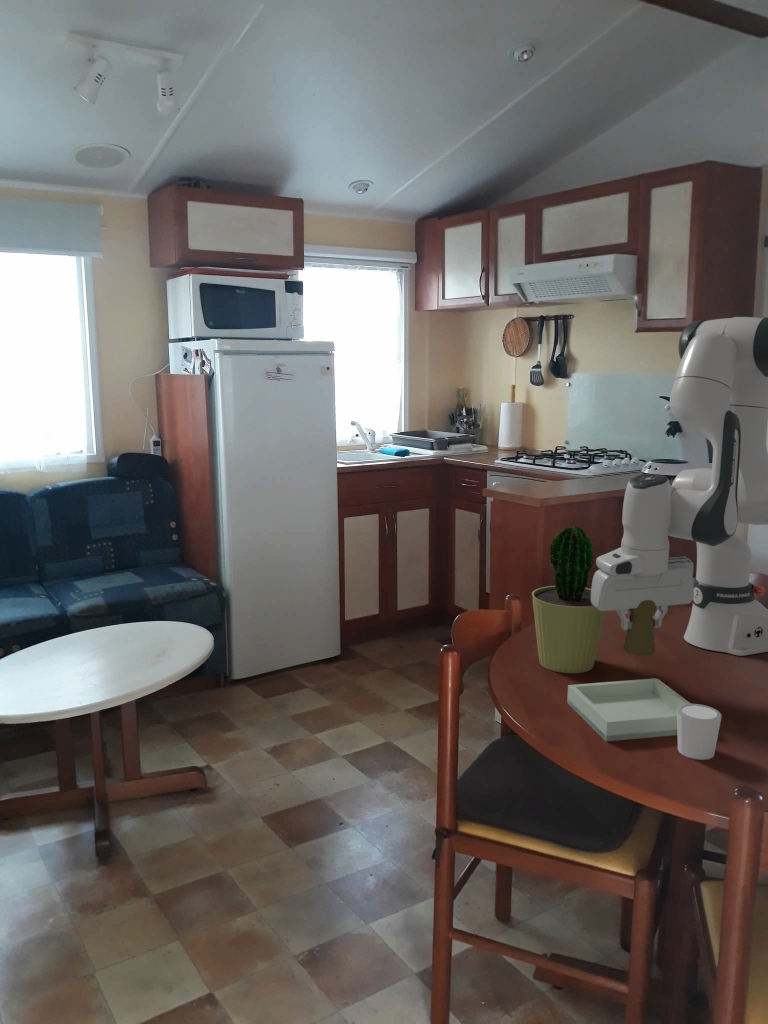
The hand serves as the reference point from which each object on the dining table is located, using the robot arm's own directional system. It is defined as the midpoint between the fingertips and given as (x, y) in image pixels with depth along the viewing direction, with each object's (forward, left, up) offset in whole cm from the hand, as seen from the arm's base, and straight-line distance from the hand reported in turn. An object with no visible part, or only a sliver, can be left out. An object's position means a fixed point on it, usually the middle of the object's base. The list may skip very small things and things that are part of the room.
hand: (641, 627), depth 163 cm
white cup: (+5, +28, -12) cm, 31 cm away
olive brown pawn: (0, 0, -5) cm, 5 cm away
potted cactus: (+10, -13, -12) cm, 20 cm away
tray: (+9, +14, -11) cm, 20 cm away
